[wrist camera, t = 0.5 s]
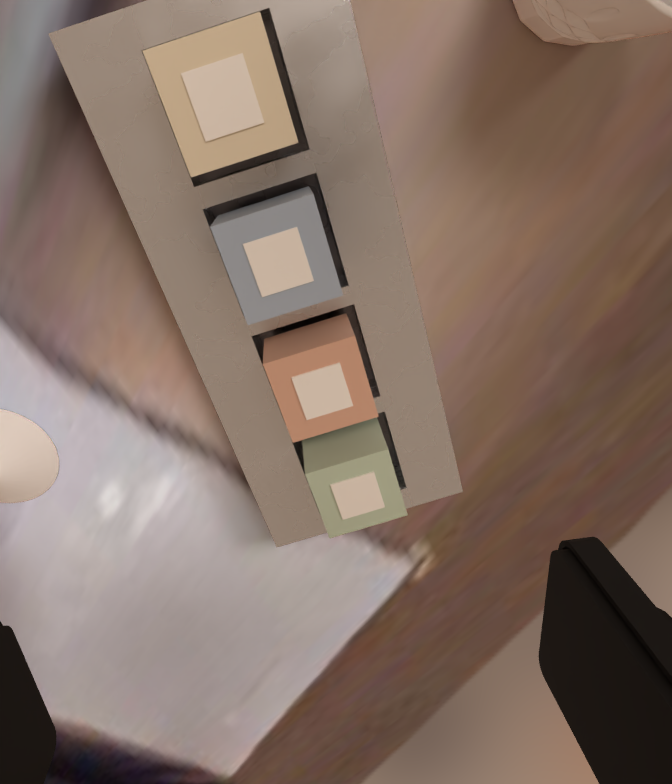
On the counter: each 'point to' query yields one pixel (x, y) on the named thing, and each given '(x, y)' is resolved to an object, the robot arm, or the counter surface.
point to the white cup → (594, 19)
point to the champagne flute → (25, 459)
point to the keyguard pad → (255, 184)
